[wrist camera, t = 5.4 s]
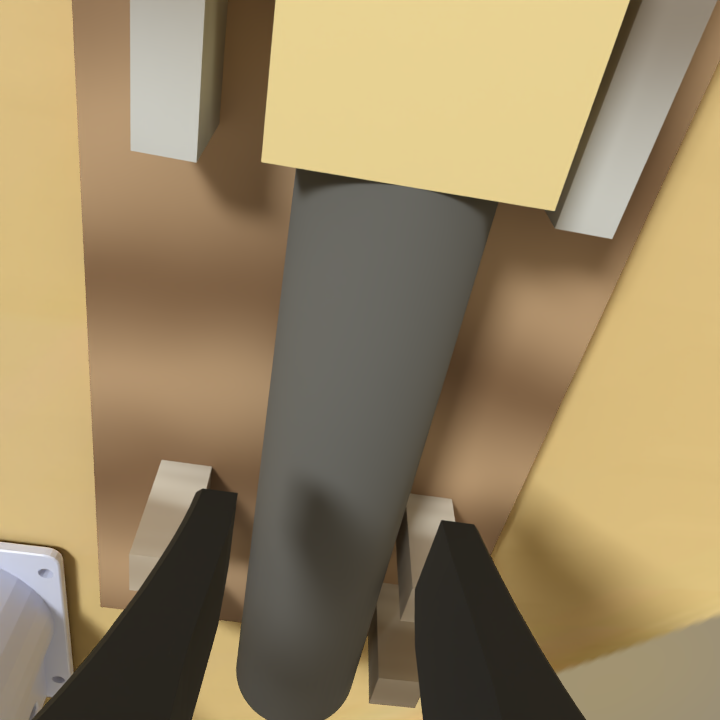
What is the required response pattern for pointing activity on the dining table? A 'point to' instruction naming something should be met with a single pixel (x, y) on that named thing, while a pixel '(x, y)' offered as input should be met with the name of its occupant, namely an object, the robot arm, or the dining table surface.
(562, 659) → the dining table surface
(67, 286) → the dining table surface
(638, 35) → the board
